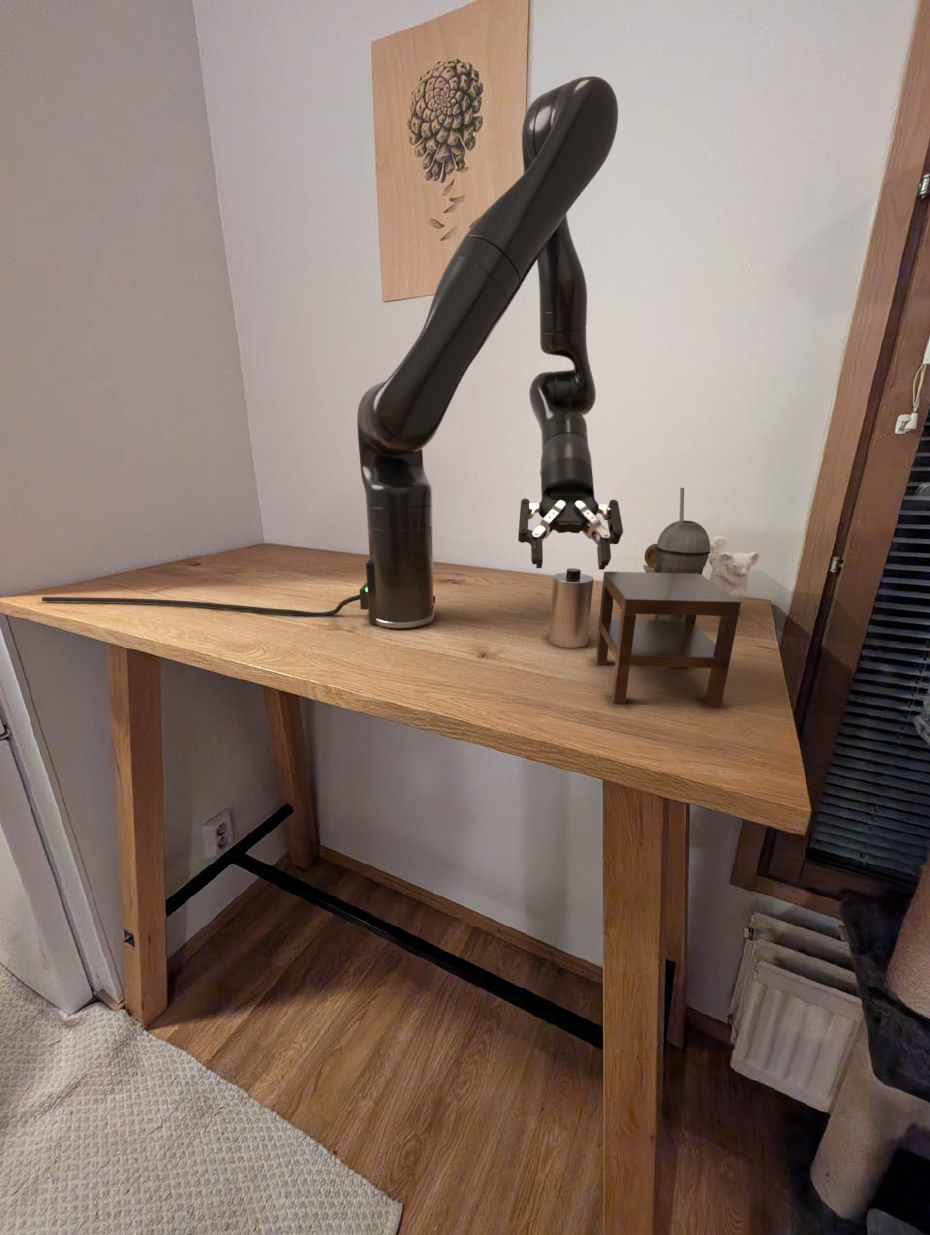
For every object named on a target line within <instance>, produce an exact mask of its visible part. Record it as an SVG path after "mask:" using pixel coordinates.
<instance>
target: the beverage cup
mask: <svg viewBox="0 0 930 1235" xmlns="http://www.w3.org/2000/svg"><path fill="white" fill-rule="evenodd" d="M684 516H685V487H679V520H677V521H673V522H672V523H670V524H669V525H667V526H666V527H665V528H664V529H663V530H662V531H661V533H660V534H659V536H658V539H657V543H656V544H657V545H656V547H655V549H656V562H657V573H696V574H701V575H702V576H703V572H704V569H705V567H706V565H707V562H708V561H709V559H708V558H709V555H710V553H711V550H710V542H711V541H710V537H709V535H708V534H709V533H708V532H707V531H706V529H705V528H704V527H703V525H701V524H700V523H698V522H696V521H693V520H685V517H684ZM682 616H683V615H665V614H654V620H661V621H682Z"/></svg>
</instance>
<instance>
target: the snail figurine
mask: <svg viewBox="0 0 930 1235" xmlns="http://www.w3.org/2000/svg"><path fill="white" fill-rule="evenodd" d="M656 545H657V543H652V544H650V545H649V546H647V548H646V549H645V552H644V562H645V563H646V564H644V565H643V570H644V571H645V572H649V573H657V562H656V549H655V547H656Z"/></svg>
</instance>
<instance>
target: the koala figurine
mask: <svg viewBox="0 0 930 1235" xmlns="http://www.w3.org/2000/svg"><path fill="white" fill-rule="evenodd" d="M727 541H728V538H727V537H726V536H723V535H721V534H720V535H719V534H718V535H716V536H713V537H712V540H711V541H710V554H709V556H708V563H709V565H710V567H711V571H710V572H711V573H710V578H709V581H711V582H712V583H714V584H715V585H717V586H718V587H720V588H721V589H723V590H724V591H726V592H727V593H729V594H730V595H731V596H733V597H734V598H736V599H737V600H739V601H741V600H742V599H743V598H744V597H745V595H746V592H747V587H748V579H749V578H748V573H749V571H750V570H751V567H752V566H754V565H756V564H757V563H758V560H759V557H760V554H759V552H758V551H752V552H749V553H745V552H735V553H733V552H732V553H731V552H728V551H727Z"/></svg>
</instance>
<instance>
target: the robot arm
mask: <svg viewBox="0 0 930 1235" xmlns="http://www.w3.org/2000/svg"><path fill="white" fill-rule="evenodd" d="M618 123H619V106H618V99H617V95H616V93H615V91H614V88H613V87H612V85H611V84H610V83H609V82H608V81H607V80H606V79H604V78H602V77H599V76H596V75H595V76H594V75H589V76H580V77H578V78H576V79H572V80H570V81H569V82H567V83H565V84H561V85H560V86H558V87H556V88H553V89H551V90H549V91H546V92H544V93H542V94H541V95H539V96H538V97H537V98H535V99H534V100H533V101H532V102H531V104H530V105H529V107H528V109H527V110H526V113H525V116H524V119H523V124H522V130H521V152H522V163H523V170H524V173H523V174H522V175H521V176H520V178H519V179H518V180H517V181H515V182H514V184H513V185H511V186H510V187H509V188H508V189H507V190H506V191H505V192H504V193H503V194H502V195H501V196H500V197H498V199H496V201H494V202H493V203H492V204H491V206H489V207H488V208H487V209H486V210H485V211H484V212H483V214H482V215H481V216H480V217H479V218H477V220H476V221H475V223H473V225H471V227H470V228H469V230H468V231H467V232H466V234H465V235H464V236H463V238H462V240H461V241H460V243H459V245H458V246H457V248H456V250H455V252H454V253H453V255H452V256H451V258H450V259H449V261H448V263H447V264H446V266H445V269H444V271H443V273H442V274H441V277H440V279H439V281H438V284H437V286H436V288H435V291H434V295H433V298H432V301H431V304H430V307H429V311H428V314H427V316H426V320H425V322H424V326H423V327H422V329H421V332H420V333H419V335H418V337H417V338H416V340H415V342H414V343H413V345H412V347H411V348H410V349H409V351H408V352H407V353H406V354H405V356H404V358H403V359H402V361H401V362H400V363H399V364H398V366H397V368H396V369H395V370H394V371H393V372H392V374H390V376H389V377H388V378H387V379H386V380H384V381H381V382H379V383H376V384H374V385H373V386H371V387H370V388H368V389H367V390H366V391H365V392H364V394H363V395H362V396H361V399H360V401H359V404H358V408H357V415H356V417H357V420H356V421H357V422H356V423H357V424H356V426H357V442H358V452H359V465H360V475H361V481H362V485H363V489H364V493H365V503H366V518H367V519H366V520H367V521H366V523H367V537H368V539H367V540H368V554H369V555H368V557H369V558H368V559H366V561H365V573H366V582H365V583H364V584H363V585H362V586H361V587H360V589H359V594H357V595H354V596H350V597H348V598H345V599H344V600H342V601H341V602H339V603H338V605H337V606H336V607H335V608H334V609H332V610H329V611H323V612H315V611H314V612H312V611H305V610H296V609H287V608H286V609H283V608H272V607H260V606H250V605H239V604H229V603H227V604H226V603H216V602H203V601H191V600H190V601H189V600H175V599H161V598H160V599H158V598H157V599H156V598H136V597H135V598H134V597H133V598H132V597H87V596H85V597H83V596H79V597H78V596H42V597H41V601H42V602H63V603H64V602H65V603H66V602H68V603H69V602H71V603H72V602H77V603H78V602H79V603H85V602H86V603H123V604H124V603H127V604H128V603H129V604H153V605H154V604H155V605H156V604H157V605H172V606H188V607H200V608H201V607H202V608H211V609H212V608H213V609H225V610H234V611H235V610H236V611H246V612H256V613H257V612H258V613H266V614H276V615H277V614H278V615H292V616H302V617H313V618H314V617H320V618H321V617H331V616H334V615H337V614H338V613H339V612H340V611H341V610H342V609H343V607H345V606H346V605H347V604H350V603H353V602H355V601H359V604H360V605H359V606H360V610H368V624H369V625H376V626H380V627H383V628H387V629H401V630H403V629H413V628H419V627H423V626H426V625H428V624H430V623H432V622H433V621H434V620H435V610H434V609H435V605H436V596H435V595H434V543H433V542H434V540H433V539H434V538H433V536H434V533H433V532H434V530H433V489H432V484H431V482H430V481H429V479H428V477H427V475H426V470H425V466H424V455H423V454H424V453H423V452H424V451H423V448H425V447H426V446H427V445H428V444H429V443H430V442H431V441H432V440H433V438H434V437H435V435H436V434H437V432H438V429H439V428H440V425H441V423H442V421H443V419H444V417H445V414H446V413H447V411H448V409H449V407H450V404H451V402H452V401H453V399H454V396H455V394H456V392H457V390H458V388H459V386H460V383H461V382H462V380H463V379H464V376H465V375H466V372H467V371H468V370H469V368H470V366H471V365H472V363H473V361H474V360H475V358H476V357H477V356H478V355H479V353H480V352H481V350H482V349H483V347H484V346H485V344H486V343H487V341H488V340H489V338H490V337H491V335H492V334H493V331H494V330H495V329H496V327H497V326H498V324H499V323H500V321H501V320H502V319H503V317H504V315H505V314H506V312H507V311H508V309H509V308H510V305H512V302H513V301H514V299H515V297H516V296H517V294H518V293H519V291H520V289H521V287H522V286H523V284H524V282H525V280H526V279H527V276H528V275H529V274H530V271H531V270H532V268H533V267H534V266H535V263H536V262H537V273H538V274H537V276H538V288H539V289H538V291H539V346H540V349H541V351H542V352H543V353H544V354H545V355H548V356H554V357H562V358H566V359H568V360H569V361H570V362H571V363H572V365H573V369H565V370H553V371H543V372H541V373H538V374H537V375H536V376H535V377H534V378H533V380H532V381H531V383H530V386H529V392H528V396H529V403H530V406H531V409H532V413H533V415H534V417H535V419H536V421H537V423H538V426H539V430H540V434H541V457H540V470H539V474H540V486H541V487H540V488H541V490H540V491H541V500H540V502H539V503H537V502H530V500H529V499H528V498H522V499H521V500H520V510H519V522H518V523H519V524H518V536H517V540H518V542H519V543H521V544H523V543H527V544H529V545H530V555H531V556H530V559H531V564H532V565H535V567H536V568H535V569H542V567H543V562H544V561H543V560H544V556H543V553H544V552H543V551H544V550H543V549H544V548H543V541H544V540H545V539H547V538H548V537H549V536H550V535H551V534H552V533H553V532H554V531H555V532H556V533H557V534H564V533H571V534H580V532H581V533H583V534H584V535H585V537H587V539H589V540H592V541H593V542H594V543H595V544H596V545H597V547H596V554H597V565H598V566H597V568H598V570H599V571H600V570H601V571H602V570H603V571H604V570H605V569H606V567H608V566H609V564H610V561H611V558H612V552H611V545H612V544H613V545H618V544H619V543H620V541H621V537H622V535H623V533H624V527H623V522H622V516H621V510H620V504H619V501H618V500H616V499H611V500H610V501H609V502H608V503H598V502H597V500H596V498H595V489H594V476H593V465H592V464H593V462H592V455H591V451H590V447H589V436H588V425H587V420H586V418H585V417H584V416H585V415H587V414H589V413H590V411H592V409H593V407H594V405H595V402H596V397H597V390H596V385H595V381H594V377H593V372H592V369H591V365H590V364H591V363H590V359H589V352H588V345H587V344H588V343H587V324H588V315H587V314H588V287H587V280H586V276H585V272H584V269H583V266H582V263H581V259H580V258H579V254H578V252H577V249H576V247H575V244H574V241H573V238H572V235H571V231H570V226H569V222H568V212H569V211H570V210H571V209H572V206H573V205H574V204H575V203H576V201H577V200H578V199H579V198H580V196H581V195H582V193H583V192H584V191H585V189H586V188H588V186H589V184H590V183H591V182H592V181H593V179H594V178H595V177H596V175H597V174H598V172H599V171H600V170H601V168H602V167H603V166H604V164H605V162H606V160H607V159H608V156H609V154H610V152H611V151H612V148H613V145H614V142H615V139H616V134H617V129H618ZM537 513H538V515H539V516H540V517H541V518H542V519H541V520H540V523H539V524H538V525H537V526H536V527H535V529H534V530H532V529H529V520H531V519H533V518H534V517H535V514H537ZM598 514H600V515H601V516H602V518H603V520H604V521H607V522H606V523H607V527H608V530H607V528H606V527H605V526H603V525H602V521H601V520H600V518H598V516H597V515H598Z"/></svg>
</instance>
